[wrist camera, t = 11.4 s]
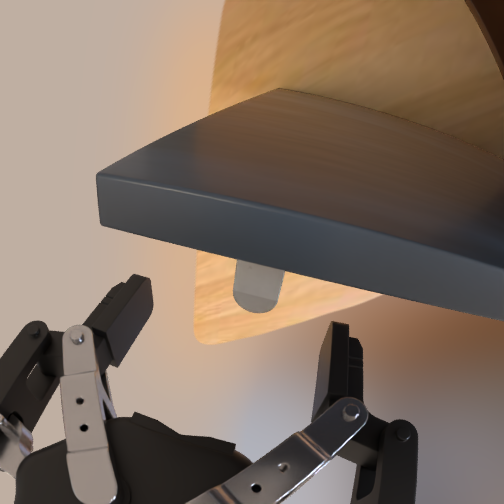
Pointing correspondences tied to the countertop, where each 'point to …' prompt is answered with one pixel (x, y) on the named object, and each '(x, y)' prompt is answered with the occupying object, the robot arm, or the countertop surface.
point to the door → (322, 201)
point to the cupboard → (491, 25)
